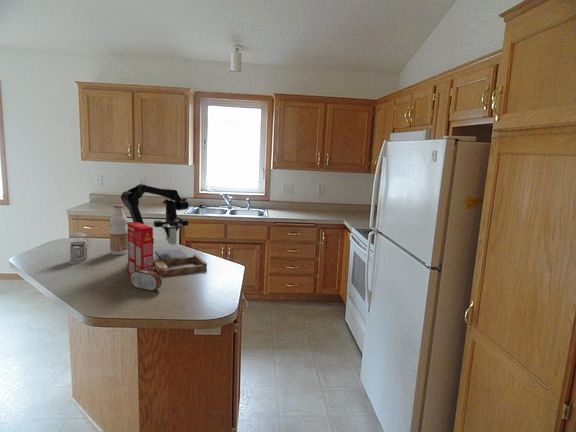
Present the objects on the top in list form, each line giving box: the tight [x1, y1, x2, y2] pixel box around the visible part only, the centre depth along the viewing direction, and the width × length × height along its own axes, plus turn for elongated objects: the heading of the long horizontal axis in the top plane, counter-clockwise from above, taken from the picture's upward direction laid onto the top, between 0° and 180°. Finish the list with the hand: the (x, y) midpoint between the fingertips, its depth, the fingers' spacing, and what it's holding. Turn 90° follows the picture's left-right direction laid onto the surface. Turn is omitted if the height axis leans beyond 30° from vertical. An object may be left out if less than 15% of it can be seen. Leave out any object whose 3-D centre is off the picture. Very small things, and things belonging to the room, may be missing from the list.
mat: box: [155, 248, 188, 260], centre depth 219 cm, size 14×18×1 cm
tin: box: [129, 269, 163, 292], centre depth 165 cm, size 15×3×8 cm, turn 71°
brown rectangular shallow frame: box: [155, 254, 208, 277], centre depth 196 cm, size 22×18×4 cm
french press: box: [68, 214, 91, 265], centre depth 198 cm, size 10×12×25 cm
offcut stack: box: [154, 261, 169, 276], centre depth 191 cm, size 4×13×4 cm, turn 29°
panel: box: [165, 225, 177, 246], centre depth 217 cm, size 3×12×9 cm, turn 31°
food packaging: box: [126, 222, 154, 275], centre depth 179 cm, size 15×5×25 cm, turn 47°
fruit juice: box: [109, 204, 128, 256], centre depth 215 cm, size 9×9×28 cm
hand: (171, 237), depth 217 cm, fingers closed on panel, 3 cm apart
